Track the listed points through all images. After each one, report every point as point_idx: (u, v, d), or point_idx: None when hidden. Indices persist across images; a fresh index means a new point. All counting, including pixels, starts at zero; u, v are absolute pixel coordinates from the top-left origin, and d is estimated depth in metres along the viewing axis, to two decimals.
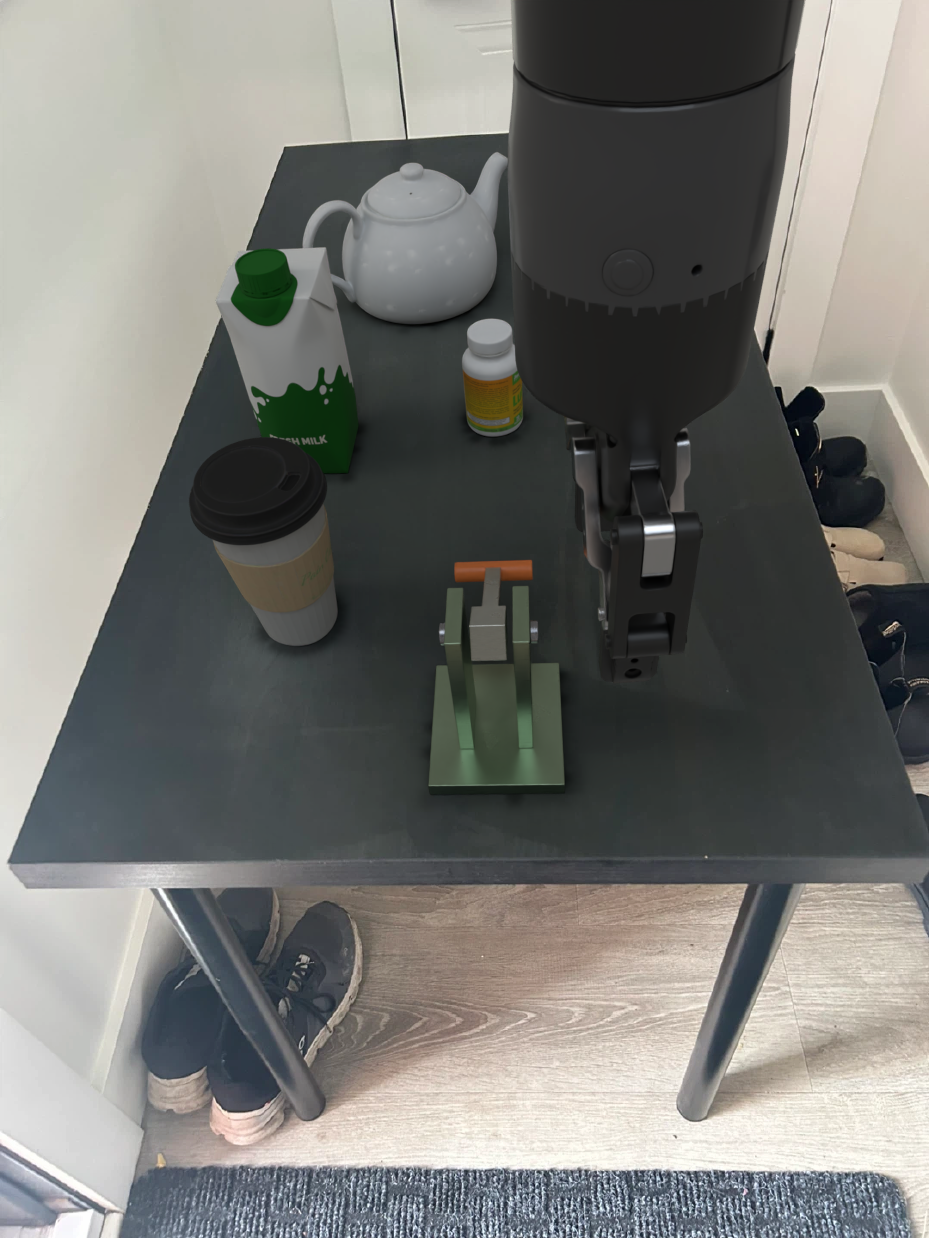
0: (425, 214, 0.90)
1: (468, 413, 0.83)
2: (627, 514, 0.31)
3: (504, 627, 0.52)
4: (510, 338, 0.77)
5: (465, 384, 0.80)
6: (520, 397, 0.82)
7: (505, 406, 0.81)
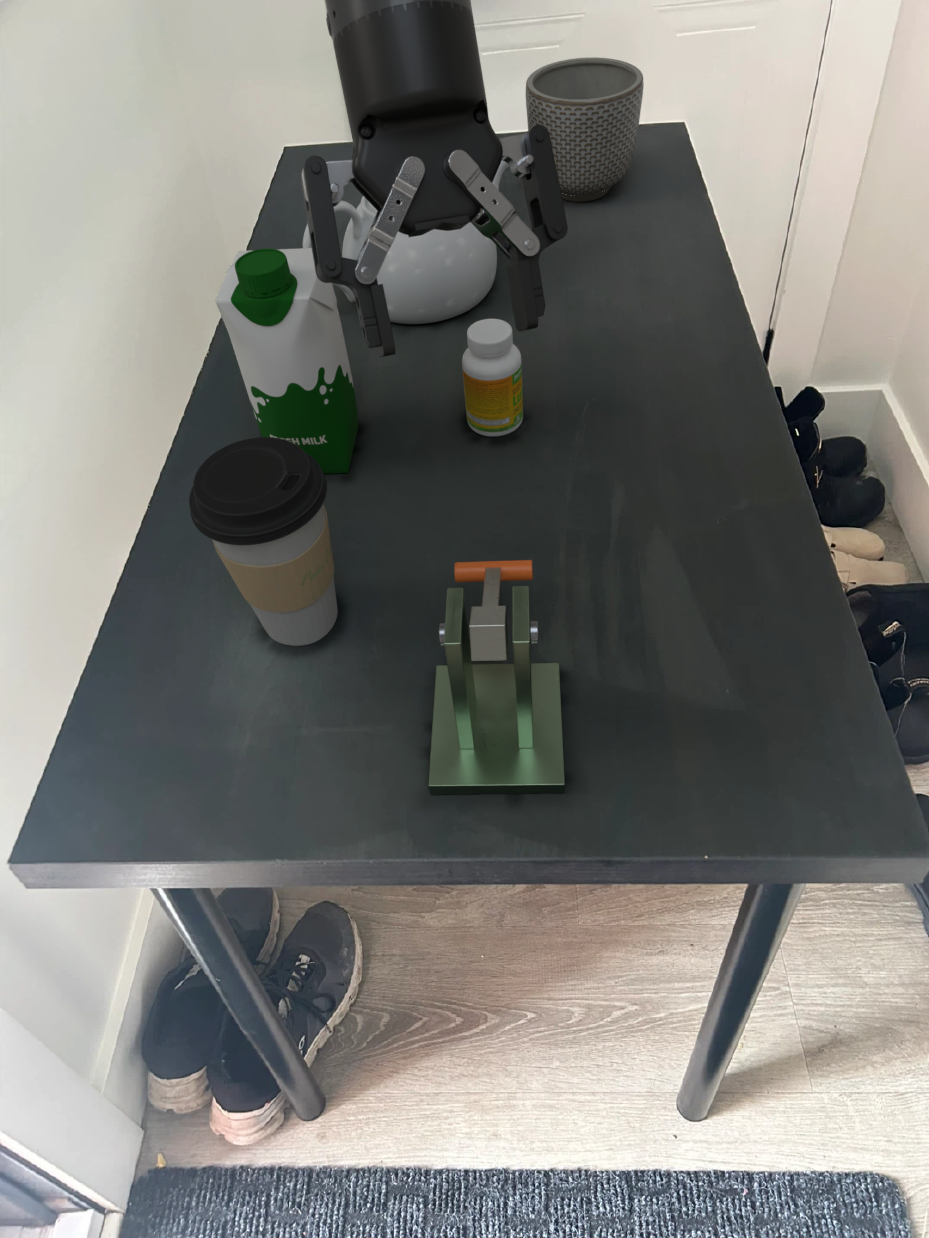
0: None
1: (468, 413, 0.83)
2: None
3: (504, 627, 0.52)
4: (510, 338, 0.77)
5: (465, 384, 0.80)
6: (520, 397, 0.82)
7: (505, 406, 0.81)
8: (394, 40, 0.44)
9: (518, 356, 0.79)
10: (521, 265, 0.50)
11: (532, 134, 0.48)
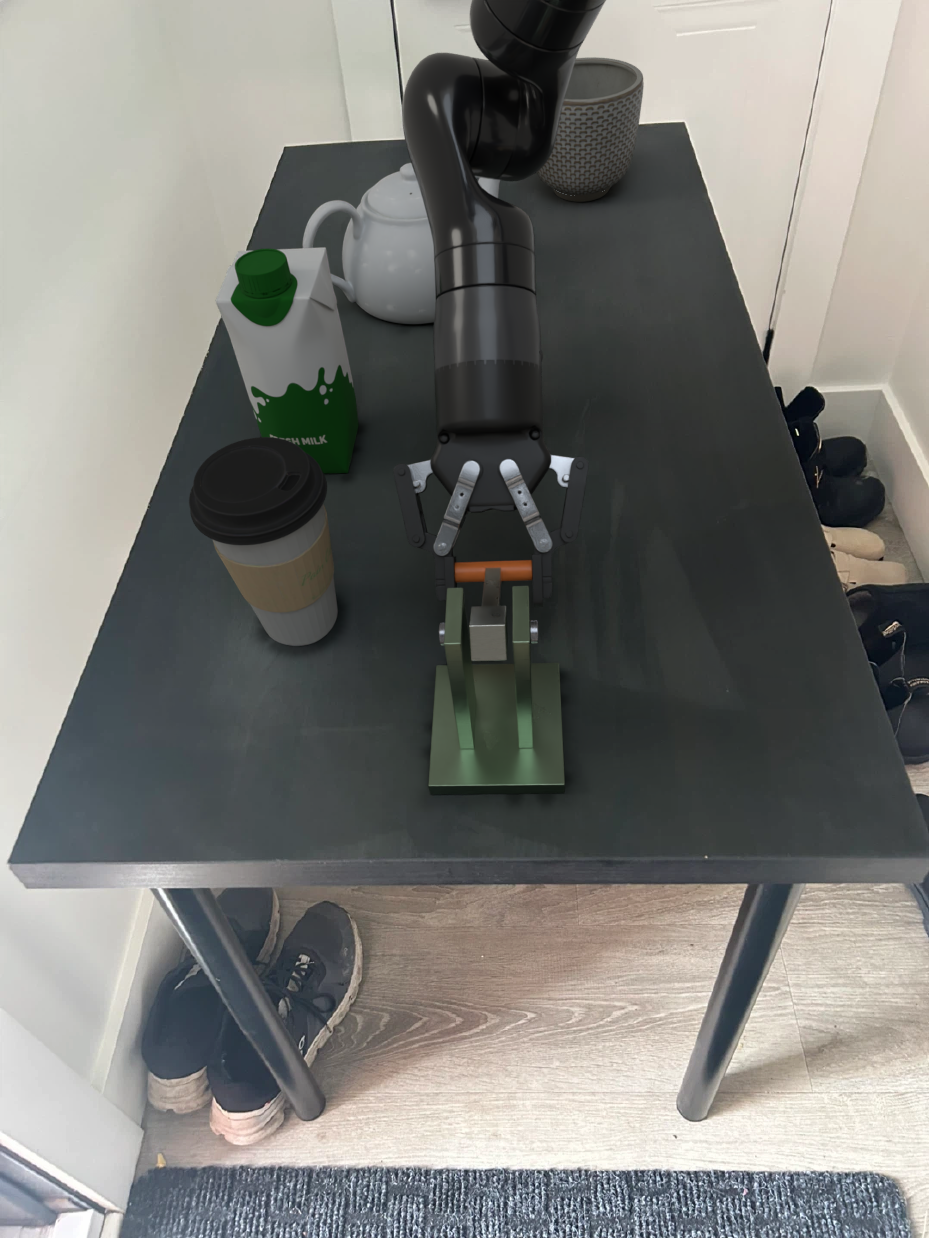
0: (425, 214, 0.90)
1: None
2: None
3: (504, 627, 0.52)
4: None
5: None
6: None
7: None
8: (464, 384, 0.59)
9: None
10: (534, 558, 0.62)
11: (575, 461, 0.61)
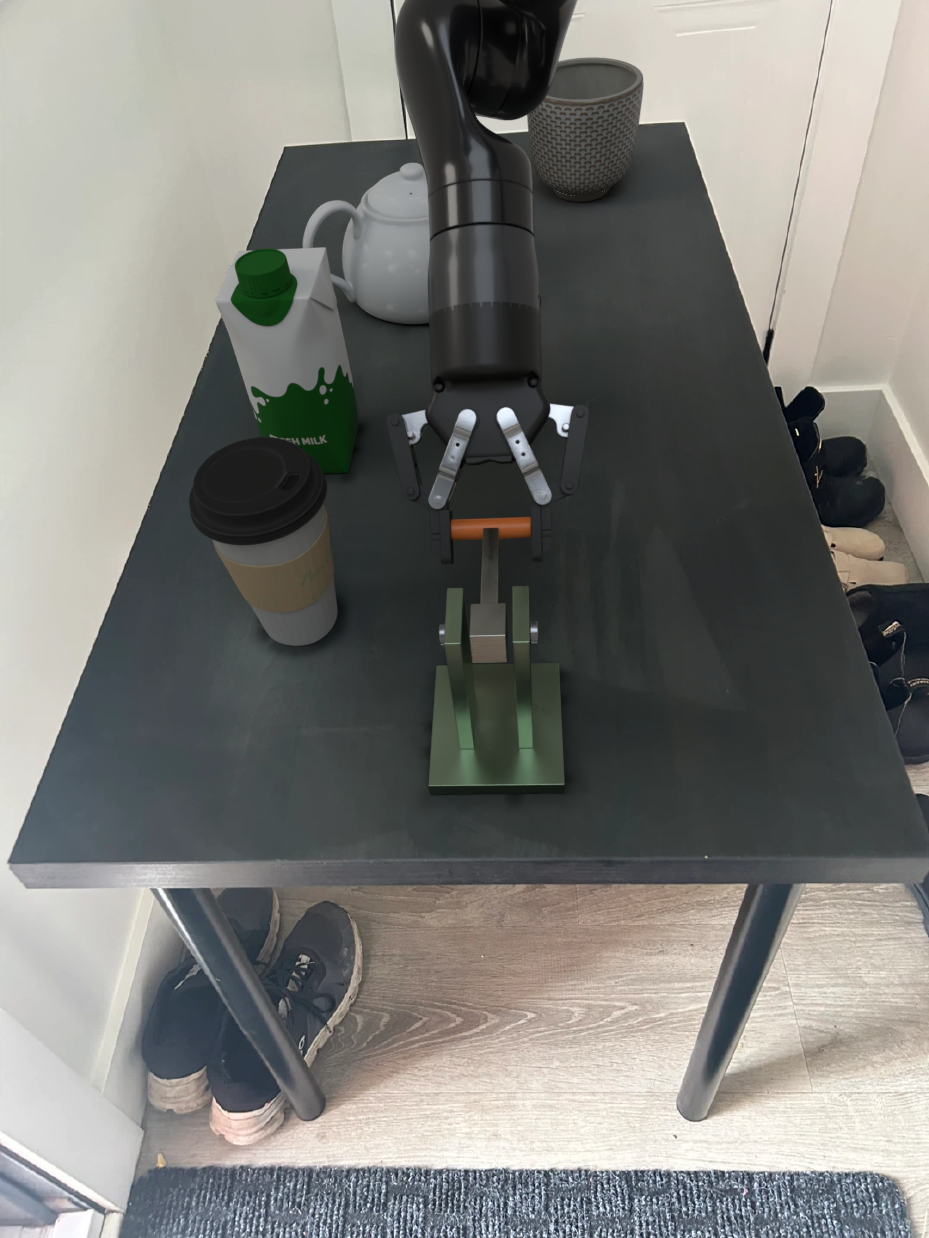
0: (425, 214, 0.90)
1: None
2: None
3: (504, 637, 0.52)
4: None
5: None
6: None
7: None
8: (459, 327, 0.56)
9: None
10: (533, 510, 0.59)
11: (575, 409, 0.58)
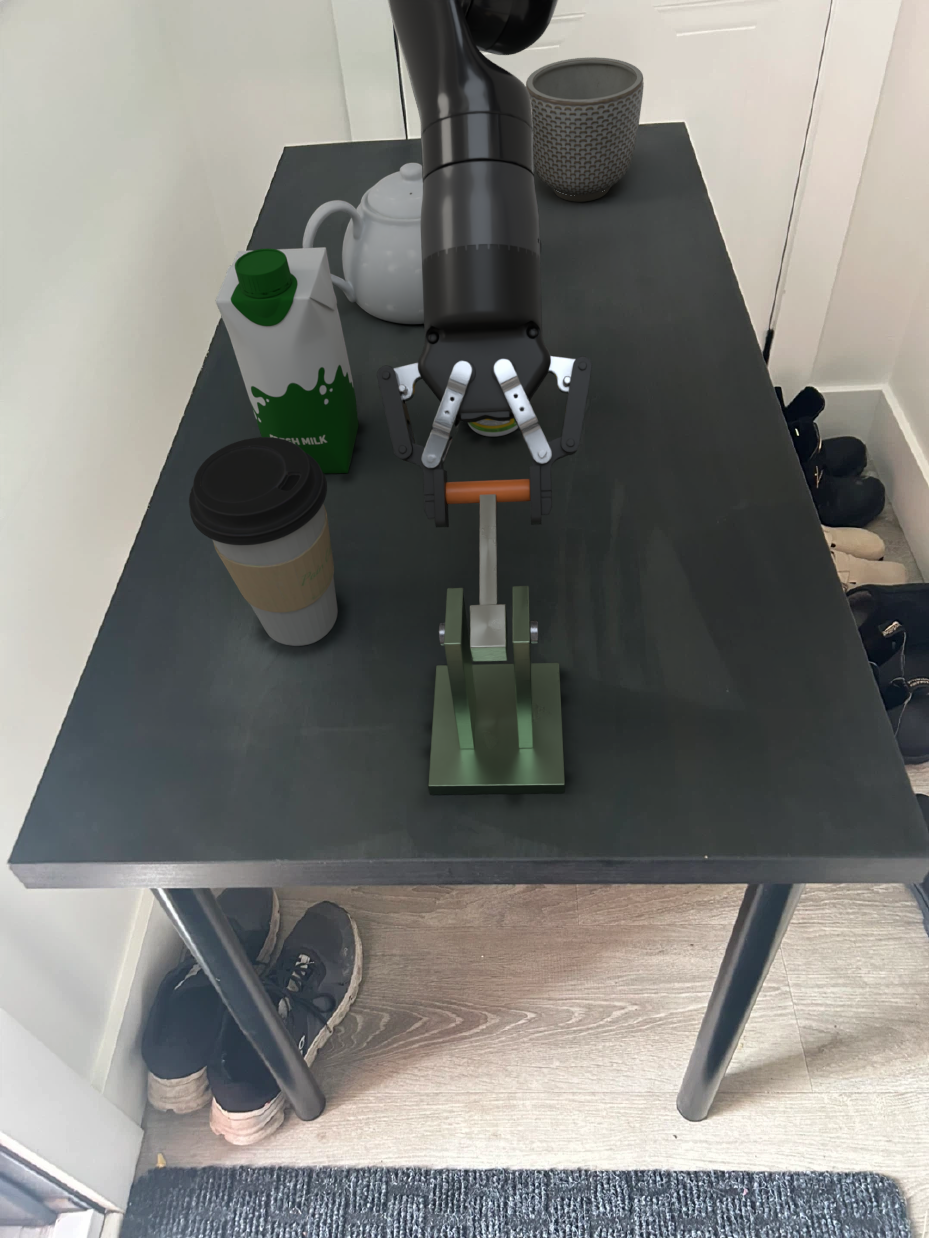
0: None
1: None
2: None
3: (505, 647, 0.52)
4: None
5: None
6: None
7: None
8: (454, 272, 0.53)
9: None
10: (532, 469, 0.56)
11: (577, 362, 0.55)
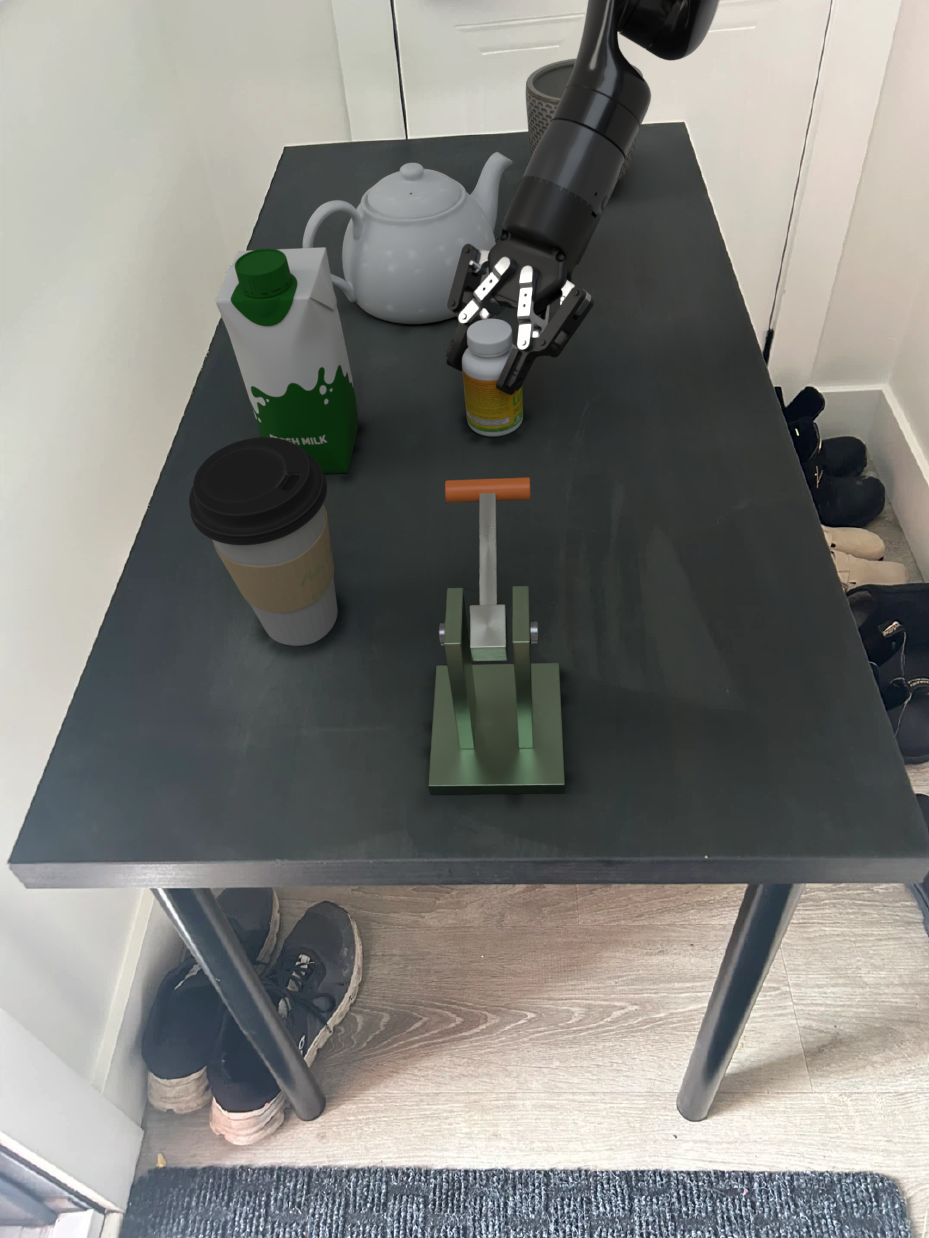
0: (425, 214, 0.90)
1: (468, 413, 0.83)
2: None
3: (505, 648, 0.52)
4: (510, 338, 0.77)
5: (465, 384, 0.80)
6: (520, 397, 0.82)
7: (505, 406, 0.81)
8: (522, 192, 0.74)
9: None
10: (513, 351, 0.77)
11: (574, 289, 0.73)
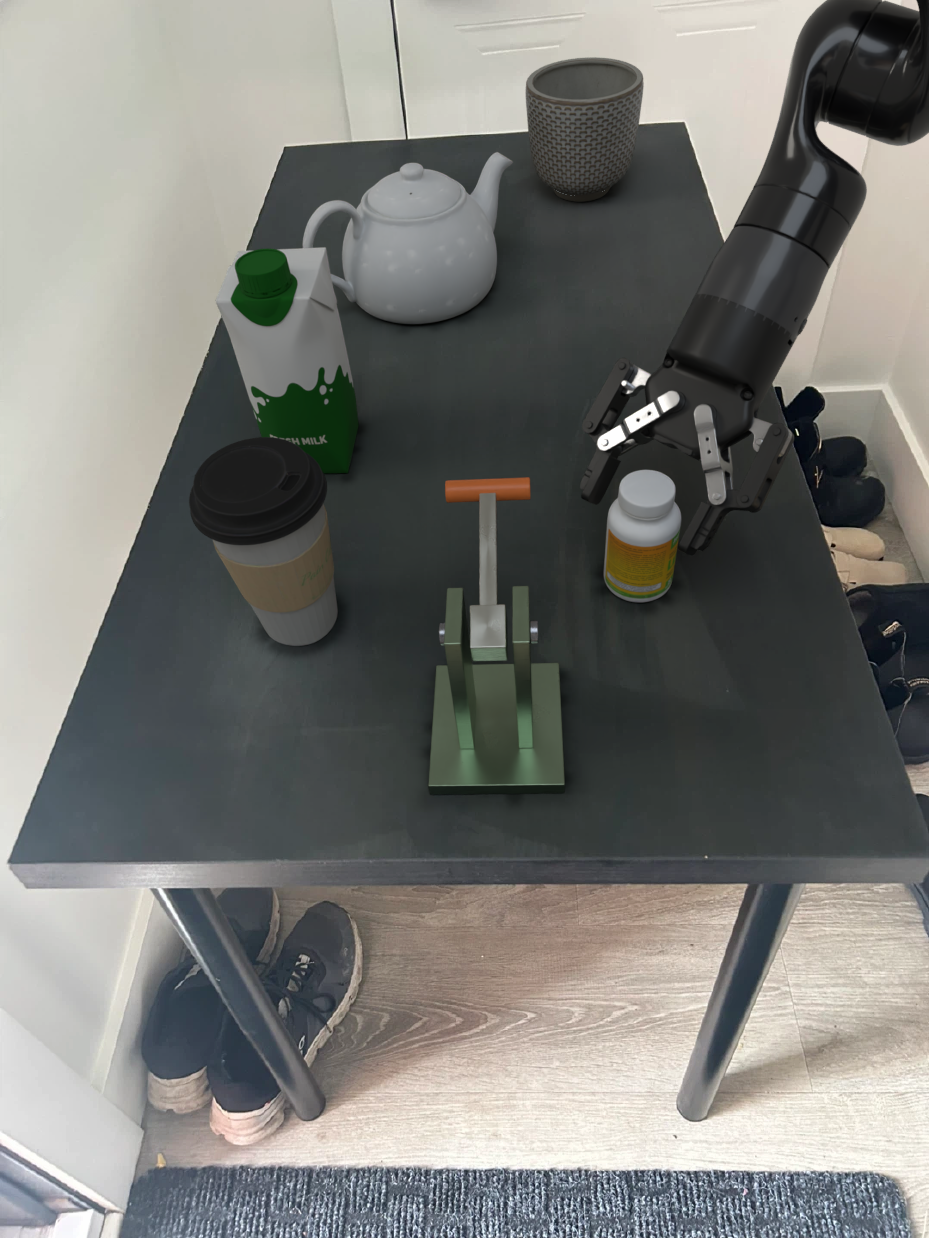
0: (425, 214, 0.90)
1: (609, 574, 0.68)
2: None
3: (505, 648, 0.52)
4: (674, 497, 0.63)
5: (610, 545, 0.66)
6: (675, 558, 0.67)
7: (659, 572, 0.66)
8: (700, 315, 0.59)
9: (679, 515, 0.64)
10: (702, 505, 0.61)
11: (773, 427, 0.58)
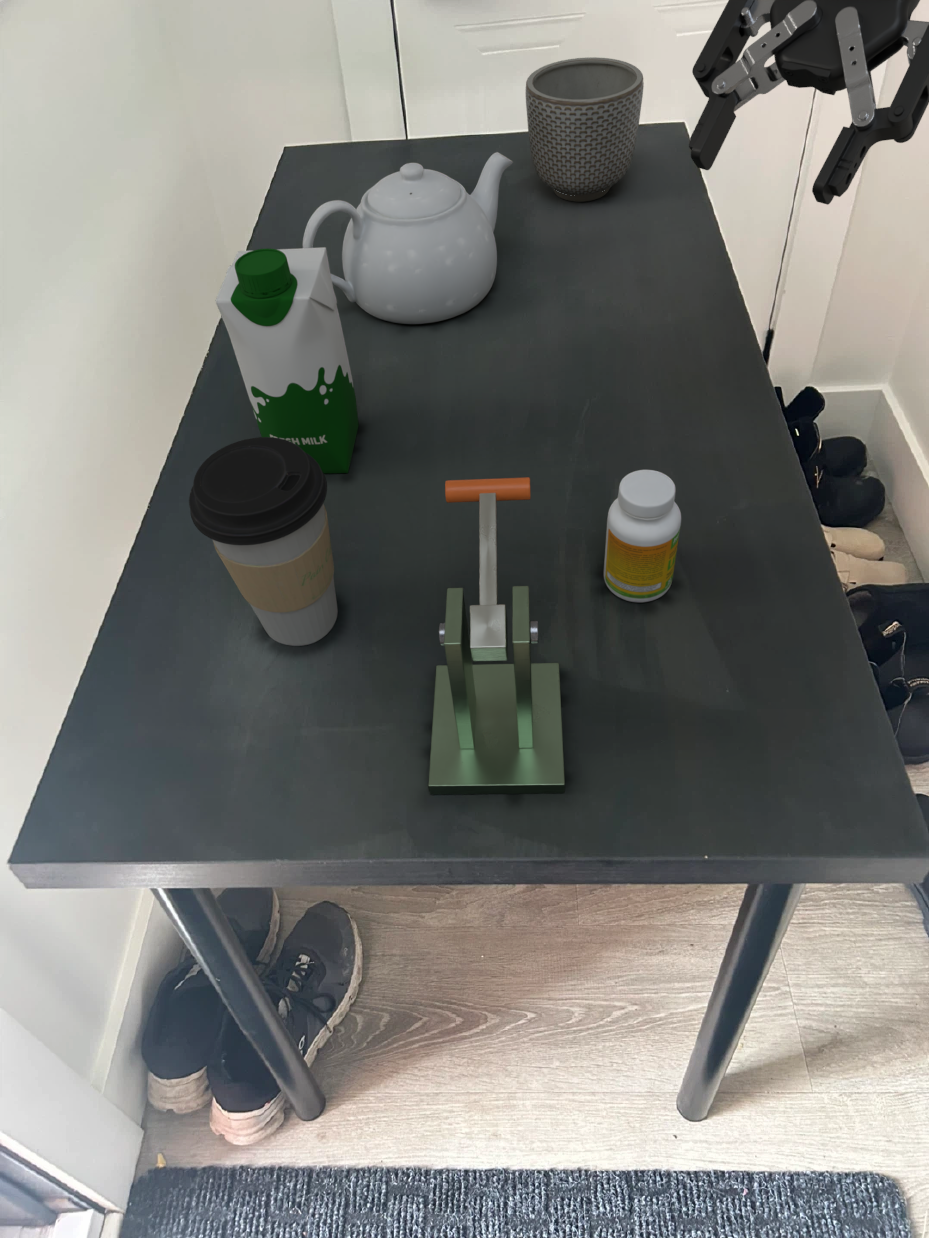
0: (425, 214, 0.90)
1: (609, 574, 0.68)
2: None
3: (505, 648, 0.52)
4: (673, 497, 0.63)
5: (610, 545, 0.66)
6: (675, 558, 0.67)
7: (659, 572, 0.66)
8: None
9: (679, 515, 0.64)
10: (844, 131, 0.52)
11: None
